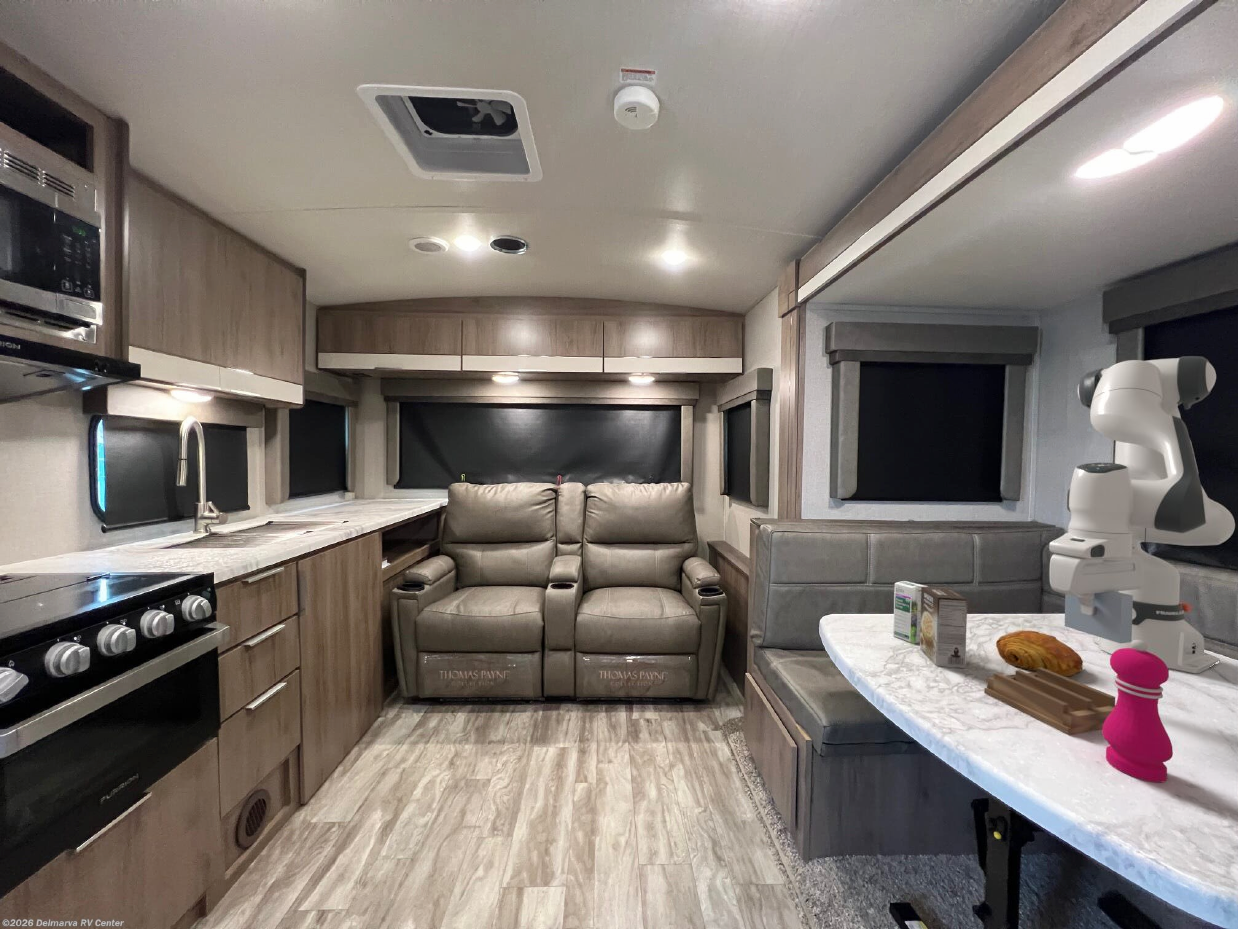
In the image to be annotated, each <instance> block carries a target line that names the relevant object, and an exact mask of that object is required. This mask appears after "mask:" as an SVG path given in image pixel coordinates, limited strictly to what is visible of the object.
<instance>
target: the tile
mask: <svg viewBox="0 0 1238 929" xmlns="http://www.w3.org/2000/svg"><path fill="white" fill-rule="evenodd" d="M1064 595H1065V597H1064V598H1065V600H1064V627H1066V628H1070V629H1072V630H1075V631H1078V632H1082V633H1086V634H1087V635H1092V636H1093V637H1101V638H1104V639H1107V640H1110V641H1114V642H1117V643H1120V644H1121V643H1128V642H1132V608H1133V595H1129V594H1124V593H1120V592H1116V591H1110V592H1102V593H1094V598H1093V599H1092V601H1093V604H1094V606H1097V614H1095V615H1087V614H1083V613H1082V612H1081V604H1080V602H1079V600H1078V598H1077V596H1076V595H1067V594H1064Z"/></svg>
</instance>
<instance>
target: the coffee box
mask: <svg viewBox="0 0 1238 929" xmlns="http://www.w3.org/2000/svg"><path fill="white" fill-rule="evenodd" d="M967 618H968V598H966V597H964V596H963V595H961V594H959V593H958V592H956V591H955V590H953V589H951V588H950V587H935V586H927V587H921V624H920V642H919V651H921V653H923V654H924V655H925V656H926V657H927V659H929V660H930V661H931V662H932V663H933V664H934V665H936V666H937V667H946V668H947V667H950V668H961V669H966V658H967V657H966V654H967V653H966V651H967V623H968V622H967V620H968V619H967Z"/></svg>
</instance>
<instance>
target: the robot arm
mask: <svg viewBox="0 0 1238 929" xmlns="http://www.w3.org/2000/svg"><path fill="white" fill-rule="evenodd" d="M1216 380H1217V374H1216V370H1215V368H1214V366H1213V365H1212V364H1211V363H1210V361H1209V359H1208V358H1205V357H1204V356H1197V355H1195V356H1193V355H1192V356H1191V355H1189V356H1188V355H1187V356H1184V355H1183V356H1180V357H1177V358H1174V357H1173V358H1172V357H1171V358H1159V359H1150V360H1141V359H1139V360H1138V359H1131V360H1123V361H1121V362H1118V363H1115V364H1113V365H1111V366H1110V367H1108V368H1099V369H1098V368H1097V369H1095V370H1091V371H1088V372H1087V373H1086V374H1084V375H1083V376H1082V377H1081V378H1080V380H1079V383H1078V385H1077V396H1078V399H1079V400H1080V403H1081V404H1082V406H1083V407H1086V408H1087V409H1089V410H1090V411H1089V414H1090V415H1089V416H1090V417H1089V420H1090V424H1091V426H1092V427H1093V428H1094V429H1095V430H1096V431H1097V432H1098V433H1099V434H1101V435H1102V436H1104V437H1106V438H1108V439H1110V440H1114V441H1115V451H1114V452H1115V455H1114V462H1092V463H1091V462H1090V463H1083V464H1080V465H1077V466H1076V467H1075V468H1074V470H1073V474H1072V477H1071V482H1070V487H1069V489H1068V490H1067V495H1066V496H1067V498H1066V500H1067V501H1066V510H1067V511H1069V512H1070V515H1071V518H1070V521H1069V523H1068V526H1067V528H1068V530H1067V532H1065V533H1064V534H1063V535H1061V536H1060V537H1058V538H1056V539H1054V540H1052V541H1050V542H1049V547H1048V549H1049V552H1050V553H1054V554H1052V555H1051V557H1050V560H1049V584H1050V588H1051V589H1052V590H1053V591H1054V592H1055V593H1056V592H1057V593H1059V594H1064V595H1065V594H1067V595H1076V596H1077V598H1078V600H1079V602H1080V604H1081V612H1082V613H1083V614H1087V615H1095V614H1097V606H1094V604H1093V601H1092V599H1093V598H1094V593H1102V592H1110V591H1116V592H1120V593H1124V594H1129V595H1133V608H1132V641H1133V640H1141V641H1143V642H1145V643H1146V644H1147V646H1148V649H1147V652H1150V653H1152V654H1154V655H1156V656H1157V657H1159V658H1160V659H1162V660H1163V661H1164V663H1165V664H1166V665H1167V668H1168V669H1170V670H1171V669H1172V670H1178V671H1182V672H1187V673H1192V674H1200V673H1202V672H1205V671H1206V670H1209V669H1210V668H1209V667H1210V666H1212V665H1213V664H1215V663H1216V662H1218V661H1220V662H1221V659H1220V658H1219V657H1217V656H1214V655H1212V654H1209V653H1207V652H1205V638H1204V635H1202V634H1201V632H1199V631H1198V630H1197V629H1196V628H1194V626H1192V625H1190V624H1189V623H1188V622H1187V621H1186V620H1185V619H1186V616H1185V613H1190V612H1191V611H1192V606H1191V604H1190V603H1185V602H1181V601H1180V589H1181V588H1180V586H1181V584H1180V583H1181V582H1180V581H1181V574H1180V572H1179V571H1178V569H1177V568H1176V567H1175V566H1174V565H1172V564H1171V563H1169V561H1166V560H1164V559H1162V558H1160V557H1157V556H1154V555H1152V554H1150V553H1148V552H1146V551H1145V550H1143V549H1142V548H1141V546H1140V544H1141V543H1156V544H1166V545H1177V546H1186V547H1187V546H1188V547H1189V546H1193V547H1194V546H1195V547H1196V546H1197V547H1199V546H1218V545H1221V544H1222V543H1224V542H1226V541H1227V540H1229V538H1231V536H1232V535H1233V534H1234V531H1235V528H1236V523H1235V519H1234V516H1233V514H1232V513H1231V511H1230V510H1228V509H1227V508H1226V507H1225V506H1224V505H1223V504H1220V503H1219V502H1217V501H1214V500H1213V499H1211V498H1209V497H1208V495H1207V493H1206V492H1205V489H1204V487H1203V486H1202V484H1201V481H1200V476H1199V469H1198V465H1197V462H1196V457H1195V452H1194V448H1193V445H1192V441H1191V438H1190V436H1189V431H1188V427H1187V425H1186V423H1185V422H1184V421H1183V419H1182V418H1181V412H1180V410H1179V408H1178V406H1180V405H1181V404H1182V405H1183V408H1184V410H1189V409H1191V407H1192V405H1194V404H1197V403H1198V402H1201V401H1202V400H1204V399H1205V398H1206V397H1207V396H1208V395H1210V393H1211V391H1212V390H1213V387H1214V386H1215V383H1216ZM1092 642H1094V643H1095V644H1097V645H1098V647H1099V648H1100V649H1101V650H1103V651H1104V652H1106V653H1108V654H1109V655H1112V654H1113V653H1114V652H1115V651H1116V650H1118V649H1122V648H1132V647H1131V642H1128V643H1121V644H1120V643H1117V642H1114V641H1110V640H1107V639H1104V638H1101V637H1098V636H1093V638H1092ZM1208 668H1209V669H1208Z"/></svg>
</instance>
